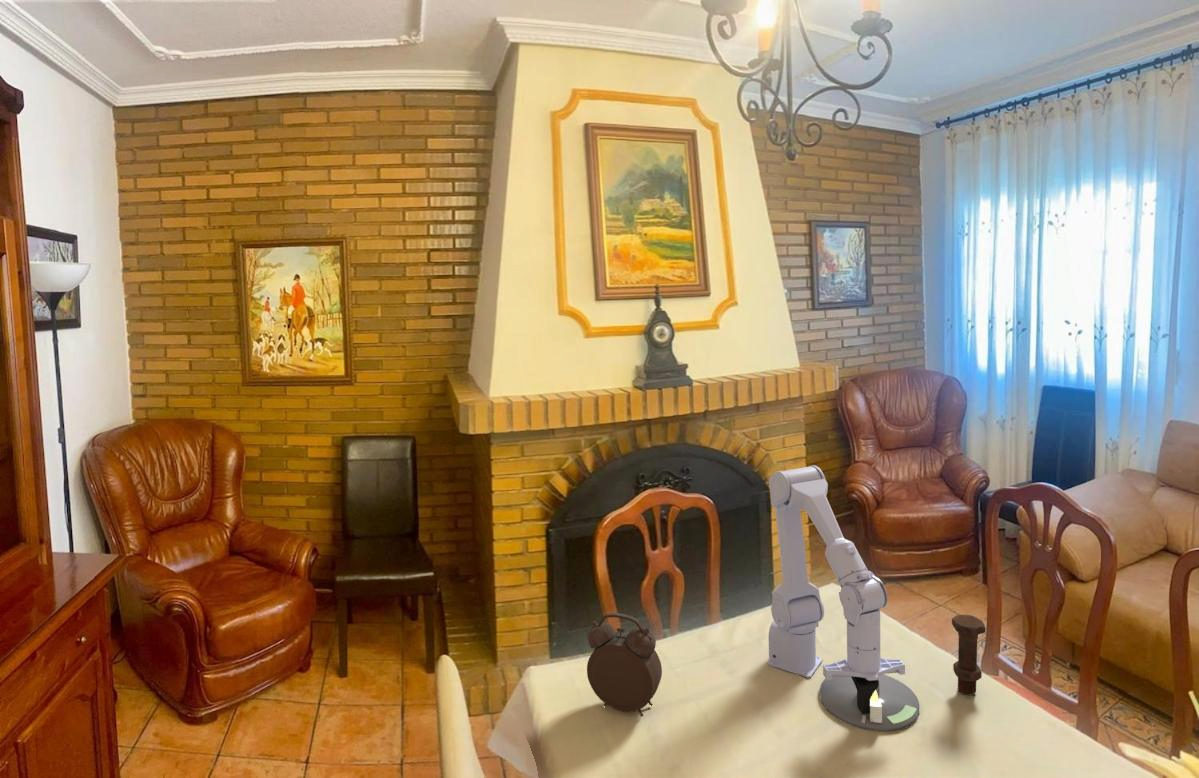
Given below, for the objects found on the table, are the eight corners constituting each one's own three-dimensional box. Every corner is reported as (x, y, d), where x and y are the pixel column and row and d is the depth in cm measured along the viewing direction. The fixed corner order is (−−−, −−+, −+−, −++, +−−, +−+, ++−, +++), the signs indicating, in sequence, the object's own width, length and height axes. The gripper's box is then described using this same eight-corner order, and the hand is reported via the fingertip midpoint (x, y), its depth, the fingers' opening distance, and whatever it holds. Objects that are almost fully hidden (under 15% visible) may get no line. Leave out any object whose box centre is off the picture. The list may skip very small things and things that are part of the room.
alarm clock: (667, 703, 132) (662, 610, 129) (654, 726, 125) (649, 628, 122) (601, 689, 138) (595, 600, 135) (586, 710, 132) (579, 616, 129)
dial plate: (806, 709, 127) (806, 704, 127) (837, 664, 141) (837, 659, 141) (906, 744, 116) (906, 738, 116) (928, 692, 130) (929, 686, 130)
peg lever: (856, 687, 131) (855, 672, 130) (877, 689, 130) (877, 673, 129) (864, 722, 121) (864, 705, 120) (887, 724, 120) (887, 707, 119)
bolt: (986, 701, 126) (988, 629, 124) (957, 699, 127) (959, 628, 125) (975, 683, 132) (977, 613, 130) (948, 682, 133) (949, 612, 131)
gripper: (832, 657, 116) (833, 727, 118) (913, 651, 117) (913, 721, 118) (818, 636, 123) (819, 703, 125) (894, 631, 124) (894, 697, 125)
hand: (864, 710), depth 122 cm, fingers closed, pressing on peg lever
